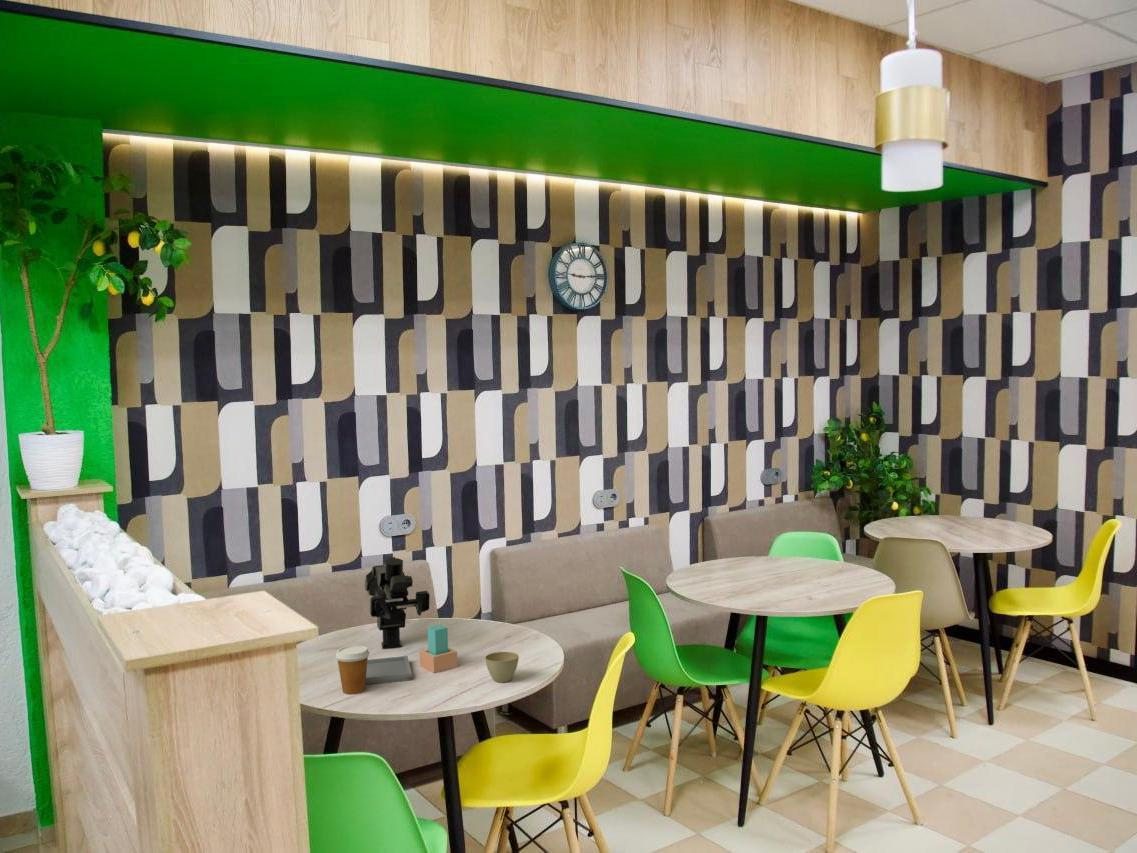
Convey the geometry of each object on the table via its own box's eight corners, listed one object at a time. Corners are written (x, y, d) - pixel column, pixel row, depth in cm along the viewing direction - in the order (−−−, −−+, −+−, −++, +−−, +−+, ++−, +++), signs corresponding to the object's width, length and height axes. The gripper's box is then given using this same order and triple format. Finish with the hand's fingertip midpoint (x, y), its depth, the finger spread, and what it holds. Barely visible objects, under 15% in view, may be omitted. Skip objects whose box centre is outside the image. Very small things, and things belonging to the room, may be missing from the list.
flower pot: (526, 677, 273) (525, 654, 272) (505, 687, 265) (504, 663, 264) (499, 672, 278) (499, 649, 278) (478, 681, 270) (478, 658, 270)
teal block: (429, 666, 285) (427, 627, 285) (441, 663, 288) (439, 624, 287) (436, 670, 282) (435, 630, 281) (448, 667, 285) (447, 627, 284)
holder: (420, 666, 286) (419, 651, 285) (443, 661, 291) (442, 645, 291) (433, 673, 279) (433, 657, 279) (457, 667, 284) (456, 651, 284)
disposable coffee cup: (362, 697, 259) (360, 655, 259) (331, 695, 261) (329, 654, 261) (375, 685, 269) (374, 645, 268) (345, 684, 271) (344, 644, 270)
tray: (356, 667, 287) (355, 660, 287) (407, 662, 290) (407, 655, 290) (357, 685, 269) (356, 679, 269) (412, 680, 273) (411, 673, 273)
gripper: (366, 573, 293) (375, 595, 279) (424, 568, 300) (435, 589, 286) (366, 605, 296) (375, 628, 282) (423, 598, 303) (434, 621, 289)
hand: (405, 615), depth 285 cm, fingers open, 9 cm apart
